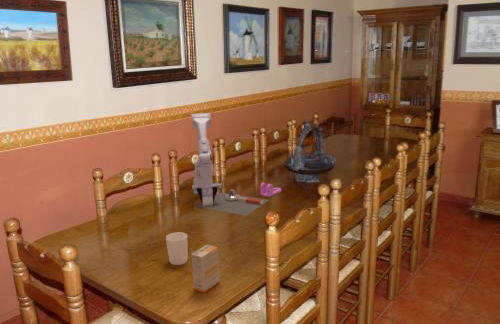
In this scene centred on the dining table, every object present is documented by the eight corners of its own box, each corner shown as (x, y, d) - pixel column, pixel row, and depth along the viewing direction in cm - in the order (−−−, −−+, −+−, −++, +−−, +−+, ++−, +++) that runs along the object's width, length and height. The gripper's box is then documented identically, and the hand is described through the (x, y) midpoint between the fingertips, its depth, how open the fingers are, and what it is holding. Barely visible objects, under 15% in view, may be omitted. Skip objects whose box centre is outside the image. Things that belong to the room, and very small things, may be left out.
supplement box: (209, 278, 155) (206, 243, 152) (220, 282, 153) (218, 247, 149) (193, 289, 149) (190, 253, 146) (204, 293, 146) (201, 256, 143)
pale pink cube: (203, 206, 224) (202, 197, 223) (203, 203, 229) (202, 193, 228) (213, 205, 225) (212, 196, 223) (213, 202, 230) (212, 193, 228)
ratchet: (223, 200, 232) (222, 191, 231) (230, 196, 238) (229, 187, 237) (258, 206, 222) (258, 196, 221) (265, 201, 228) (265, 192, 227)
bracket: (269, 197, 235) (268, 185, 234) (260, 195, 239) (260, 183, 237) (283, 191, 245) (282, 179, 243) (274, 189, 248) (274, 177, 247)
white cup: (168, 257, 172) (166, 232, 170) (189, 255, 173) (187, 231, 170) (167, 266, 165) (164, 241, 162) (188, 265, 165) (186, 240, 163)
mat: (194, 206, 225) (194, 206, 225) (220, 192, 245) (220, 192, 245) (245, 216, 211) (245, 215, 211) (269, 200, 231) (269, 199, 231)
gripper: (191, 179, 219) (193, 205, 222) (221, 177, 220) (222, 203, 223) (191, 175, 226) (193, 200, 229) (220, 173, 227) (222, 199, 230)
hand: (207, 201), depth 227 cm, fingers closed on pale pink cube, 5 cm apart
